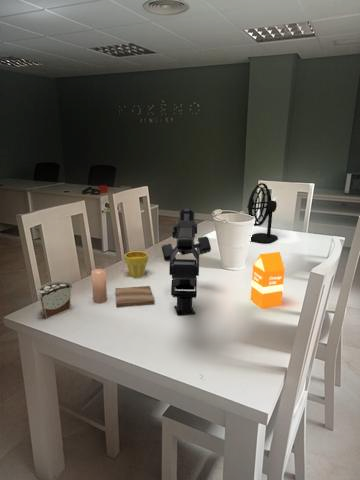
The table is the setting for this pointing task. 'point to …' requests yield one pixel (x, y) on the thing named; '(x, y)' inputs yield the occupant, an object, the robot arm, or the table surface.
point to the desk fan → (269, 207)
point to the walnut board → (134, 296)
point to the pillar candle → (99, 285)
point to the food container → (55, 297)
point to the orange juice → (267, 280)
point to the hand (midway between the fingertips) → (186, 256)
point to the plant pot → (136, 263)
